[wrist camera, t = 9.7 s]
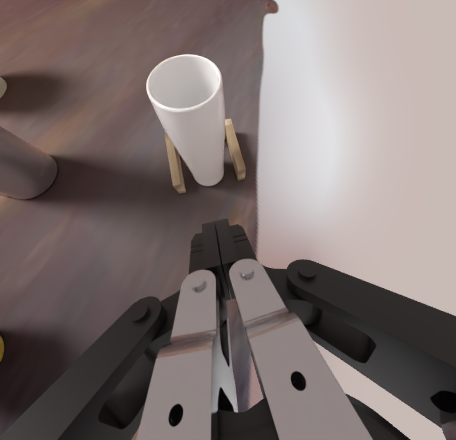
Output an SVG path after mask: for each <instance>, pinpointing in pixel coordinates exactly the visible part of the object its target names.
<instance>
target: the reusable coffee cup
mask: <svg viewBox="0 0 456 440" xmlns="http://www.w3.org/2000/svg"><path fill="white" fill-rule="evenodd" d="M6 88H7V84H6V82H5V81H4V79H2V78H1V77H0V98H1V97H2V96H3V95H4V93H5V91H6Z"/></svg>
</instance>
